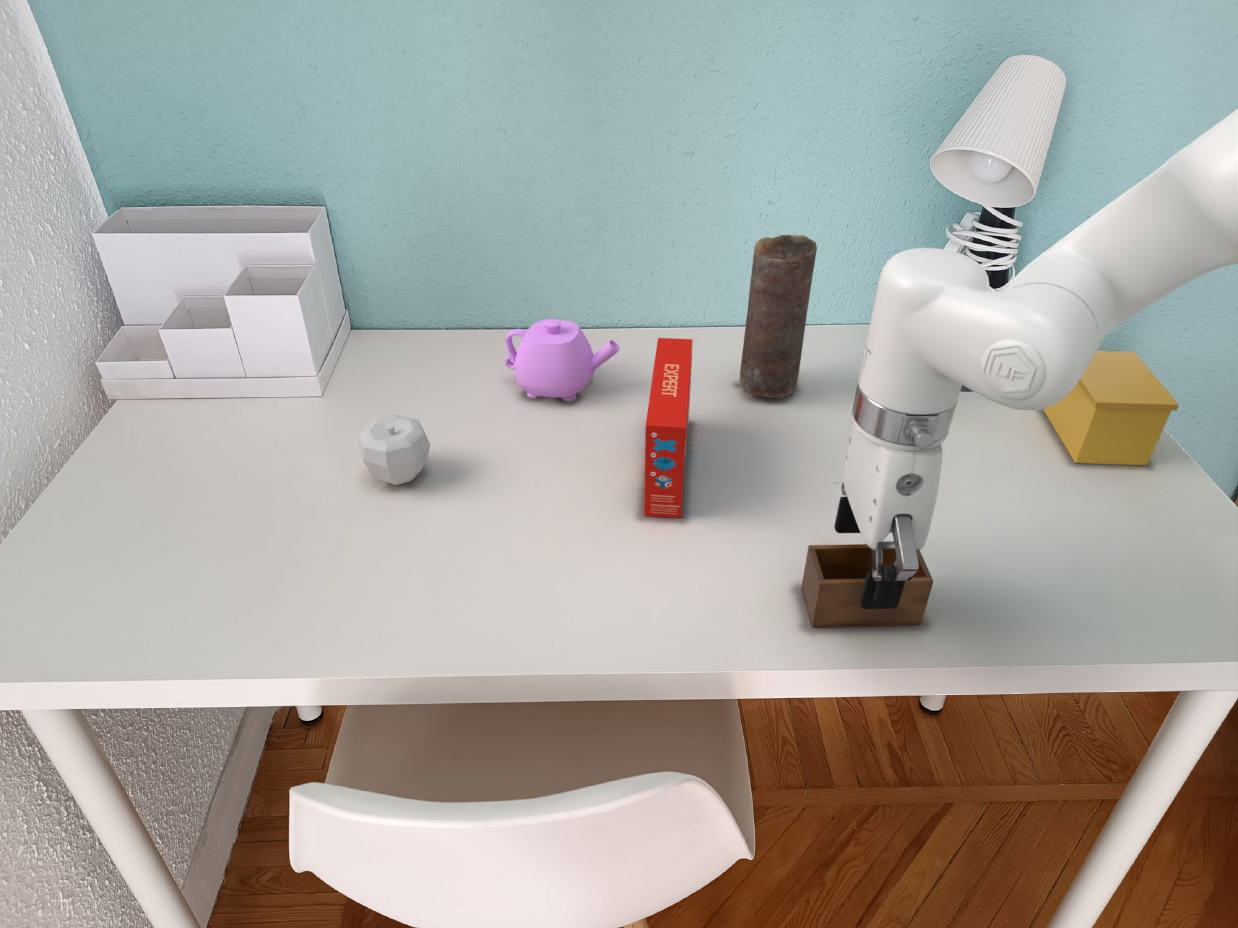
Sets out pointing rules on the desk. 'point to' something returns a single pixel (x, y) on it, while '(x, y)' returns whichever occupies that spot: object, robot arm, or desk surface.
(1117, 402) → the box
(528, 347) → the teapot
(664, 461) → the toy box
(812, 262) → the candle
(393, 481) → the apple
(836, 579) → the wooden cubby shelf
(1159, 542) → the desk surface
